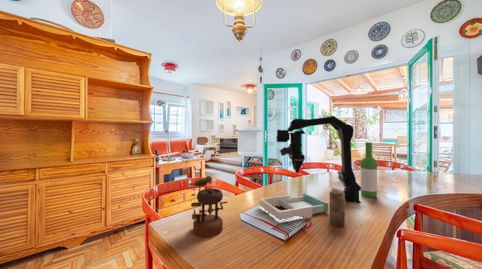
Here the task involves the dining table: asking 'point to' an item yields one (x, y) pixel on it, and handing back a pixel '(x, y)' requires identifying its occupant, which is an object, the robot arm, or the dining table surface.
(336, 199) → the pepper mill
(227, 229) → the dining table surface
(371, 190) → the wine bottle
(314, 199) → the grey tray
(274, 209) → the tray sleeve
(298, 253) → the dining table surface
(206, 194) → the music box
